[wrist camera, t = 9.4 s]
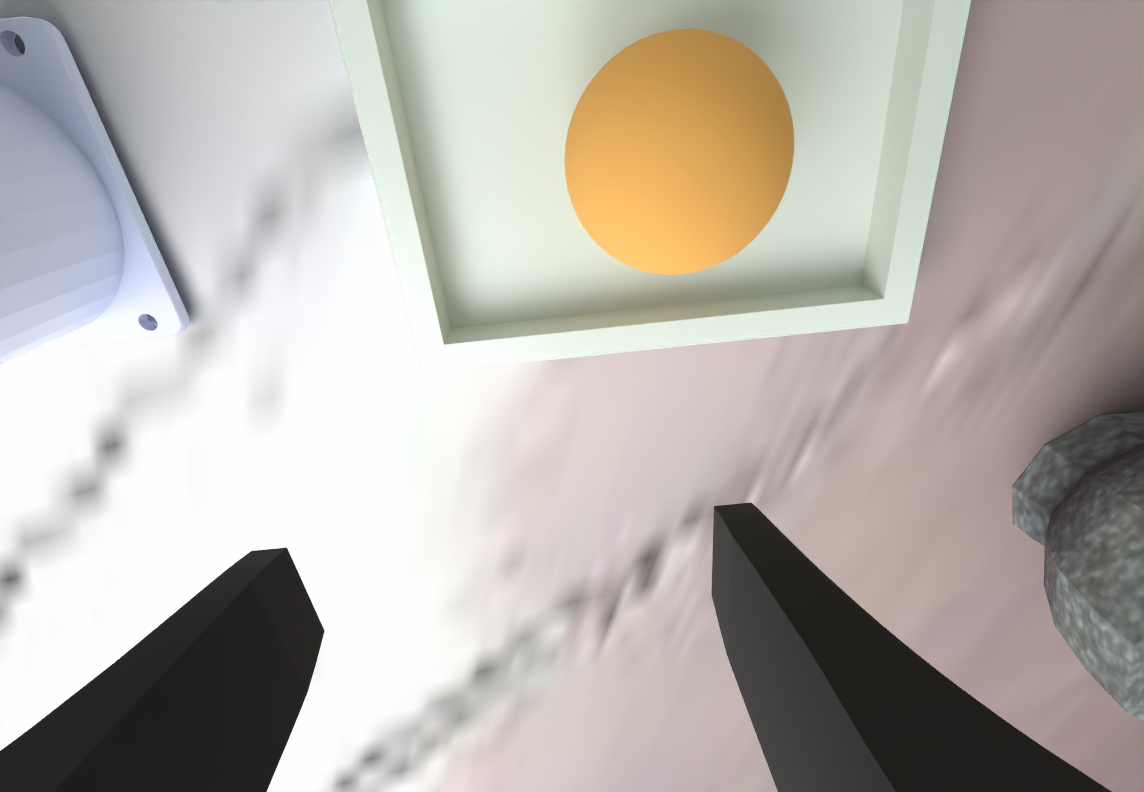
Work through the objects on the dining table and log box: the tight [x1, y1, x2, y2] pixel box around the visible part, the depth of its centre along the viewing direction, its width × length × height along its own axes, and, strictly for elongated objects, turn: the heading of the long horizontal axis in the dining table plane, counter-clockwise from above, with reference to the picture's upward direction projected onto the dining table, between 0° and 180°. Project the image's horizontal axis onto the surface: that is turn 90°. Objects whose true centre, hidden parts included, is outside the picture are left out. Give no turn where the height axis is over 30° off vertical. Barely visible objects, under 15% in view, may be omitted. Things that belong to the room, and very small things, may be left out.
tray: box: [329, 0, 971, 373], centre depth 14 cm, size 14×10×2 cm
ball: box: [564, 28, 794, 275], centre depth 12 cm, size 5×5×5 cm
